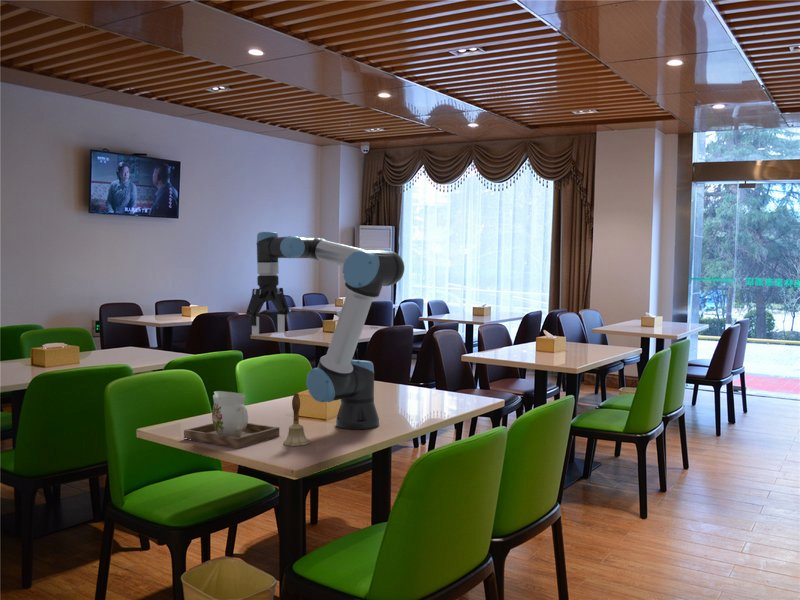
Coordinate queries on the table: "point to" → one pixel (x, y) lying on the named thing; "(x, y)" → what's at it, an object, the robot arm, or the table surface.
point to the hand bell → (296, 427)
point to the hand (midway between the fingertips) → (268, 333)
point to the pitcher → (229, 413)
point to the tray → (247, 437)
